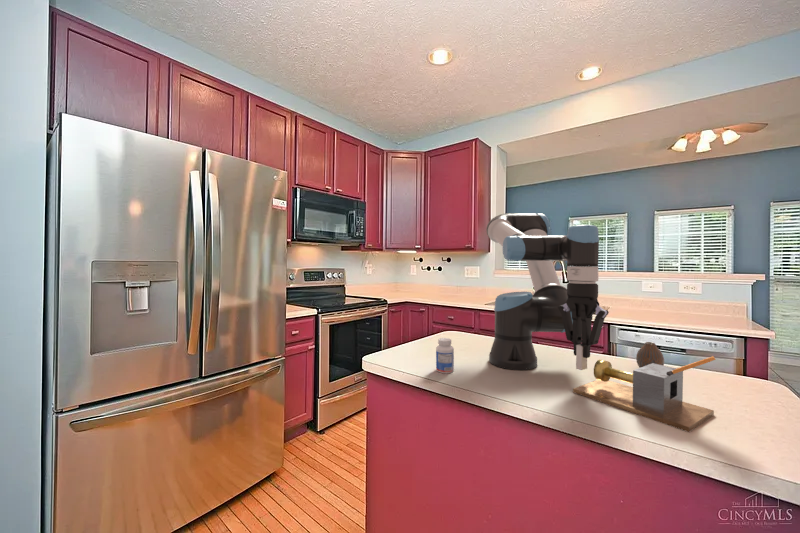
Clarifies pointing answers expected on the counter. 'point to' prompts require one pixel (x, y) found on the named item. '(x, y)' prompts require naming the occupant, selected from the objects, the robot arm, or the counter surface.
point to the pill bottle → (444, 356)
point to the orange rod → (693, 364)
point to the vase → (649, 355)
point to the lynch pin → (610, 372)
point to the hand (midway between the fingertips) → (581, 368)
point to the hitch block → (650, 397)
